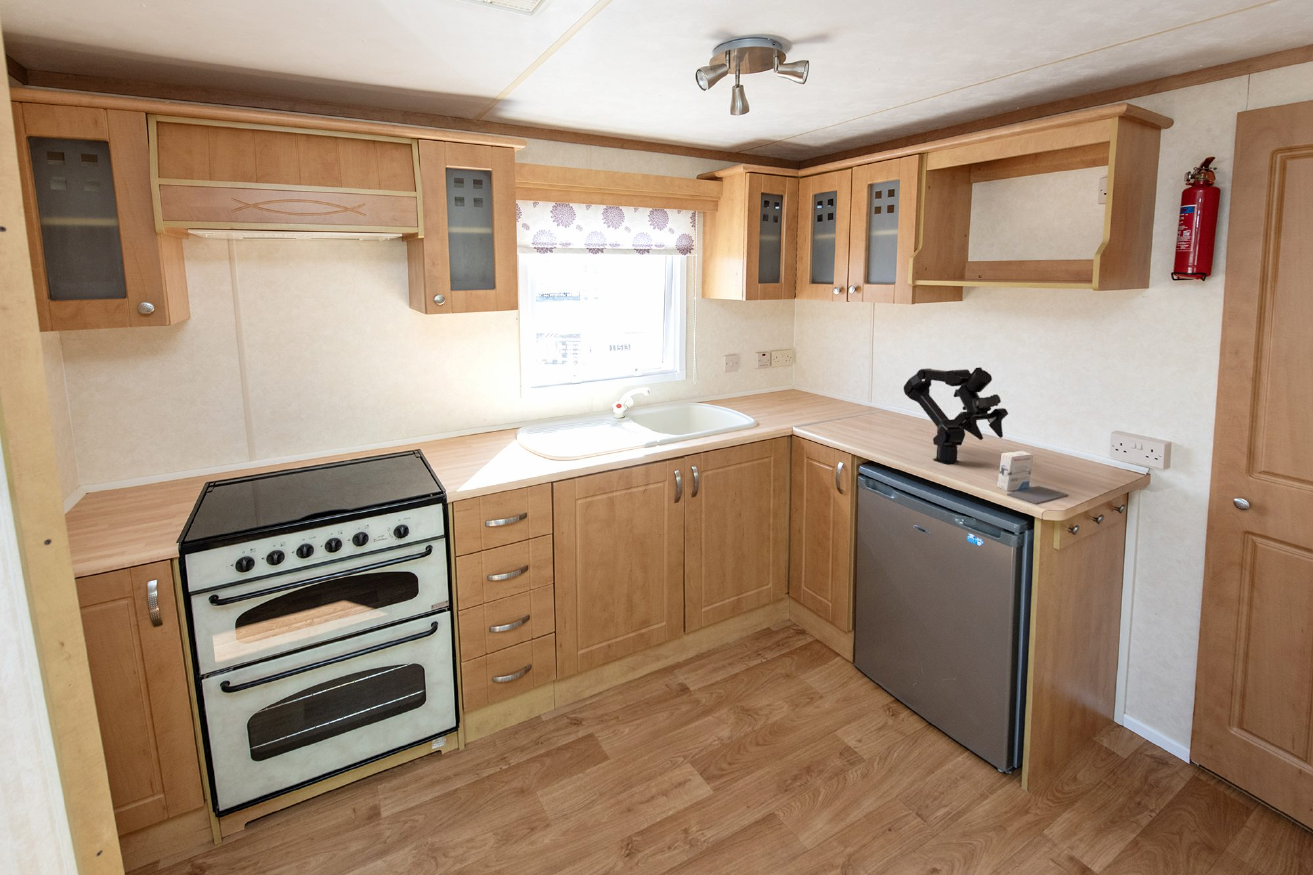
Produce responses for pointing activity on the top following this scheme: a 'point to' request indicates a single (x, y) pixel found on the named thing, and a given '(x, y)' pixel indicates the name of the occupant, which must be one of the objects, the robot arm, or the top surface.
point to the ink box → (1015, 470)
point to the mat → (1037, 494)
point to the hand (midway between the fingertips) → (991, 438)
